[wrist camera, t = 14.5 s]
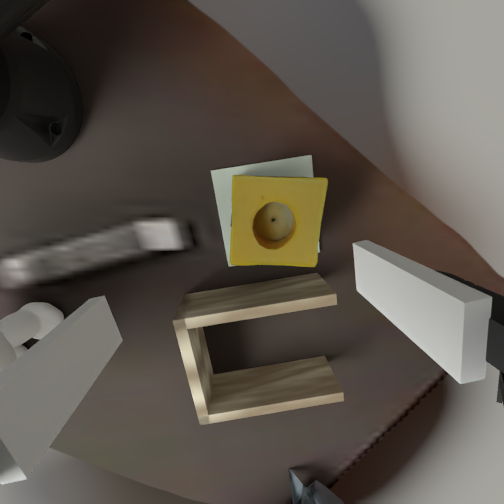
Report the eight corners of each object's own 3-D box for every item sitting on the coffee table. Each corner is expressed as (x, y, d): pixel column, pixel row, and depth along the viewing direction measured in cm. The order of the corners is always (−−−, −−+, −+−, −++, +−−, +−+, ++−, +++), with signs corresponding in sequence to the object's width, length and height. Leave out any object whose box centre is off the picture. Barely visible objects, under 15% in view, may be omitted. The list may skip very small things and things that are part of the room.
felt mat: (211, 170, 35) (210, 170, 34) (310, 155, 35) (311, 154, 35) (228, 265, 39) (228, 266, 38) (318, 251, 39) (319, 252, 38)
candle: (305, 177, 35) (331, 175, 26) (299, 247, 38) (320, 269, 28) (233, 174, 35) (231, 169, 25) (231, 245, 37) (229, 266, 28)
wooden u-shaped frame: (185, 294, 39) (172, 320, 32) (317, 272, 40) (336, 293, 32) (206, 382, 44) (200, 425, 36) (325, 363, 44) (343, 400, 36)
